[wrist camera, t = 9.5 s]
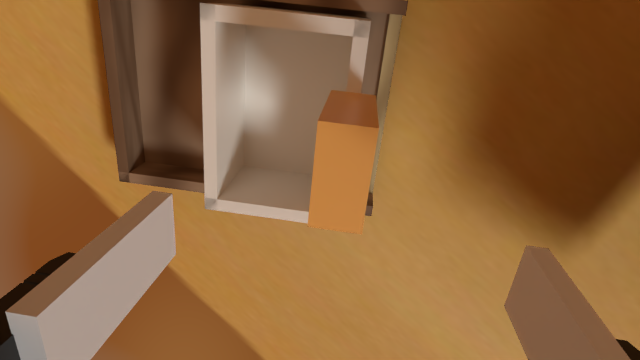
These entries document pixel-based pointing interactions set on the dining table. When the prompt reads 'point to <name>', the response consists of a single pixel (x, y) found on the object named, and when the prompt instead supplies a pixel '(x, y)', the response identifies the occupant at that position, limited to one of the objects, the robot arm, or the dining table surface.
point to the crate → (287, 115)
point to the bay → (186, 80)
